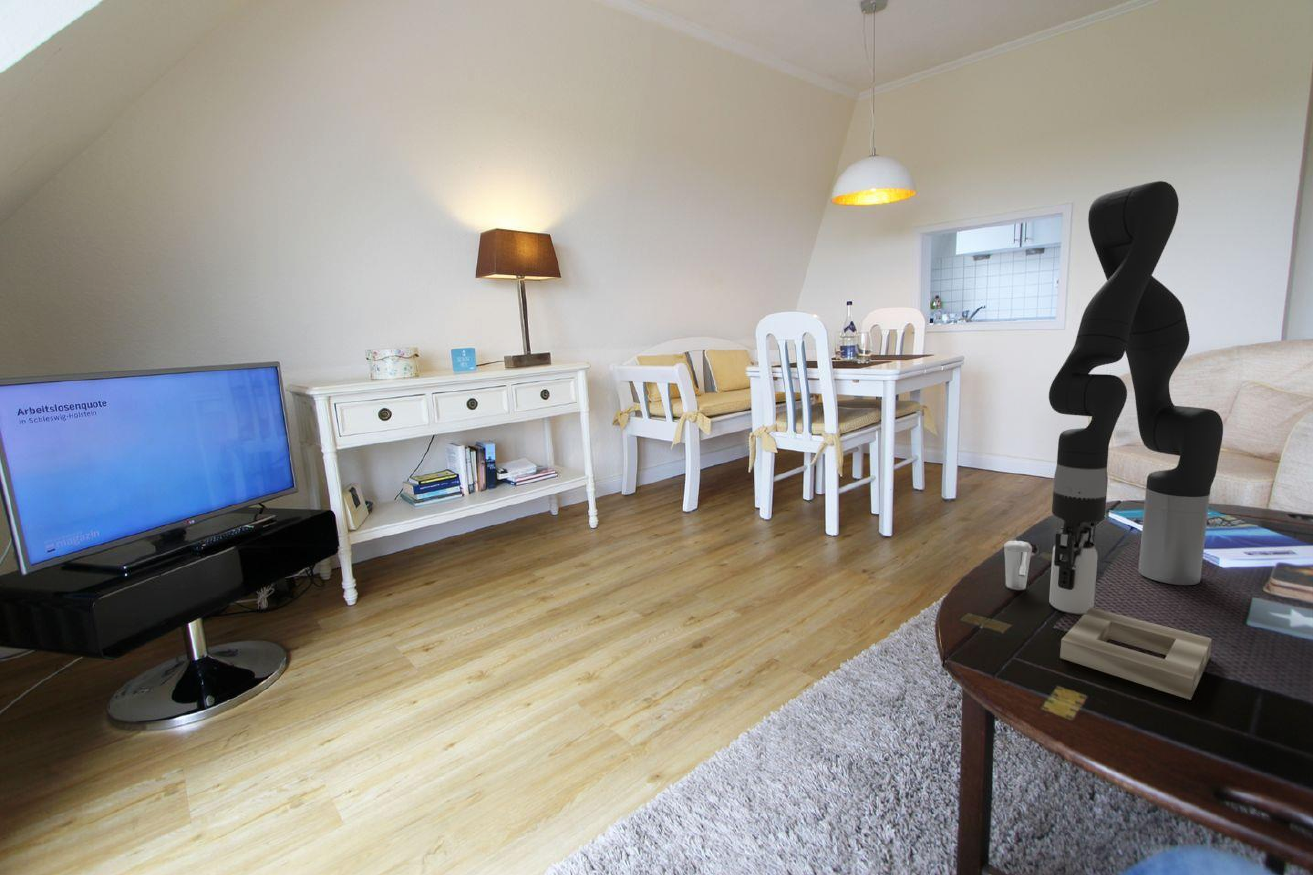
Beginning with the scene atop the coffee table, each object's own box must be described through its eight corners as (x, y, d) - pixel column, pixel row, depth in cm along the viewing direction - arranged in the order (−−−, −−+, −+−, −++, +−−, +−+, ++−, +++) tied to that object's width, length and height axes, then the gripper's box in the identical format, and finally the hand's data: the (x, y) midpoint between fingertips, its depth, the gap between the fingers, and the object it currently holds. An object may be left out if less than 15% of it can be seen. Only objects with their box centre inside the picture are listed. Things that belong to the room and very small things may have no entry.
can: (1079, 599, 110) (1084, 536, 108) (1101, 615, 104) (1107, 548, 102) (1041, 599, 111) (1046, 536, 109) (1061, 615, 104) (1066, 549, 102)
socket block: (1089, 624, 101) (1090, 607, 100) (1209, 657, 90) (1211, 638, 89) (1059, 657, 91) (1061, 639, 91) (1190, 699, 80) (1193, 679, 80)
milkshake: (1025, 581, 118) (1028, 532, 117) (1032, 592, 113) (1035, 541, 112) (998, 579, 120) (1001, 531, 118) (1004, 590, 115) (1007, 540, 113)
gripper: (1093, 503, 96) (1085, 601, 99) (1117, 485, 105) (1109, 575, 108) (1040, 495, 102) (1034, 588, 105) (1067, 479, 111) (1061, 565, 114)
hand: (1072, 581), depth 106 cm, fingers open, 7 cm apart
